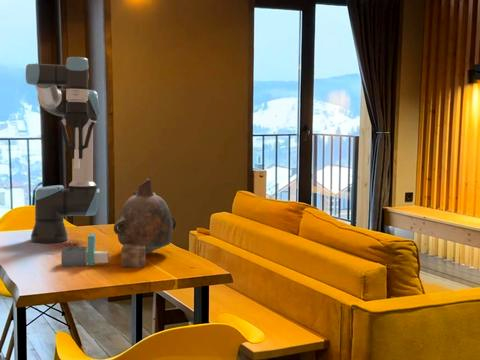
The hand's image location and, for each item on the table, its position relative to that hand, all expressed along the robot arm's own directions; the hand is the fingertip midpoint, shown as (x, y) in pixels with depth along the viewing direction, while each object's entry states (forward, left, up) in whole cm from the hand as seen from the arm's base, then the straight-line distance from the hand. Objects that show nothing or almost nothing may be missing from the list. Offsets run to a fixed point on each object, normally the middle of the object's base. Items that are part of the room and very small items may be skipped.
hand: (76, 168), depth 227 cm
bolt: (+3, -1, -34) cm, 35 cm away
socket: (+20, -1, -35) cm, 40 cm away
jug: (+23, +18, -35) cm, 46 cm away
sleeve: (-1, -1, -35) cm, 35 cm away
